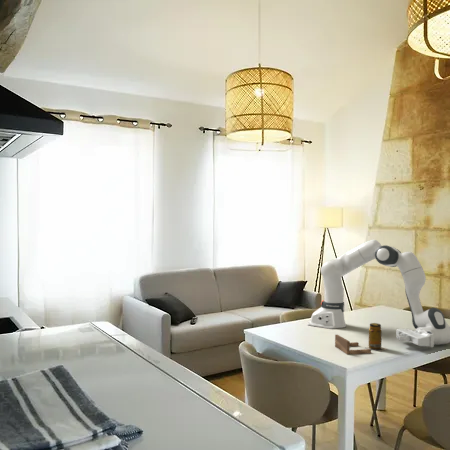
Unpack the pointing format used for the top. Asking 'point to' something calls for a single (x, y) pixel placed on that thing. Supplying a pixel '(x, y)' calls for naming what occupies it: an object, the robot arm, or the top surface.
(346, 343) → the corral
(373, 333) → the condiment
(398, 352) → the top surface
